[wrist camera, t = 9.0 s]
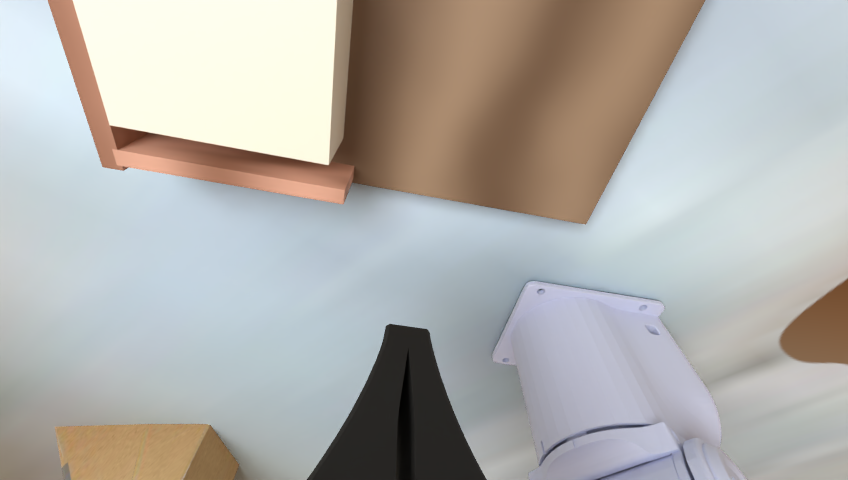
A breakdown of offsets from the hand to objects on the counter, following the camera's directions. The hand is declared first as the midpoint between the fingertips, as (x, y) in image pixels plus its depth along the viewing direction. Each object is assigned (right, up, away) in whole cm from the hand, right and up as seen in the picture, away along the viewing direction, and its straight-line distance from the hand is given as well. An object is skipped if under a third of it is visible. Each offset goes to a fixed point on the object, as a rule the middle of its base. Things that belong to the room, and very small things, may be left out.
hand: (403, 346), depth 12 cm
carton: (-6, +12, +2) cm, 13 cm away
